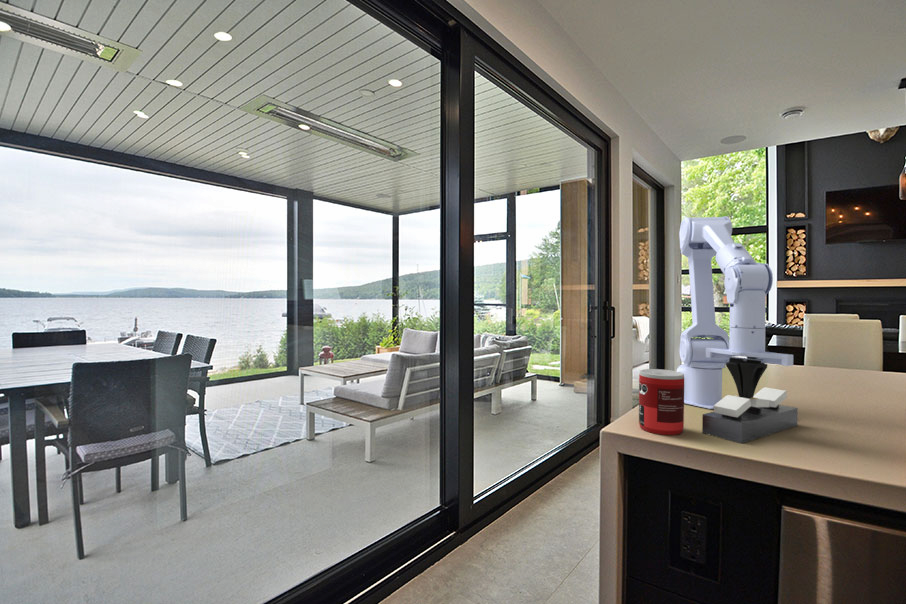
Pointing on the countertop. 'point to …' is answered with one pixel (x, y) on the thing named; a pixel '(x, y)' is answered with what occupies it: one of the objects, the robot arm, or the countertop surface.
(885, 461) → the countertop surface
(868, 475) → the countertop surface
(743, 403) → the rocker near
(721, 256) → the robot arm
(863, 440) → the countertop surface
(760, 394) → the rocker far
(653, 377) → the canned food
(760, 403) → the rocker mid
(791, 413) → the switch box
